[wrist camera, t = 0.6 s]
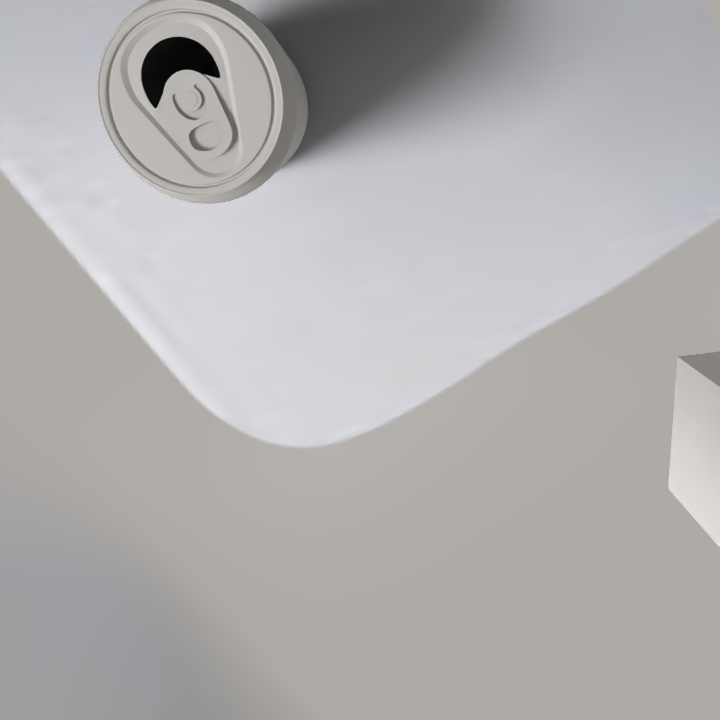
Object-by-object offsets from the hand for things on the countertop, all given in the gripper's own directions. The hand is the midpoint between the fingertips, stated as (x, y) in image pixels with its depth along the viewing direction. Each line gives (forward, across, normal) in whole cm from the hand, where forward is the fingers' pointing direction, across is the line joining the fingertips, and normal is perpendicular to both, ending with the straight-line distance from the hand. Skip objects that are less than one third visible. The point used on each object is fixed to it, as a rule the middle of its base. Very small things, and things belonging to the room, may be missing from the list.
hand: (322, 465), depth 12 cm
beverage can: (+23, -3, +6) cm, 24 cm away
